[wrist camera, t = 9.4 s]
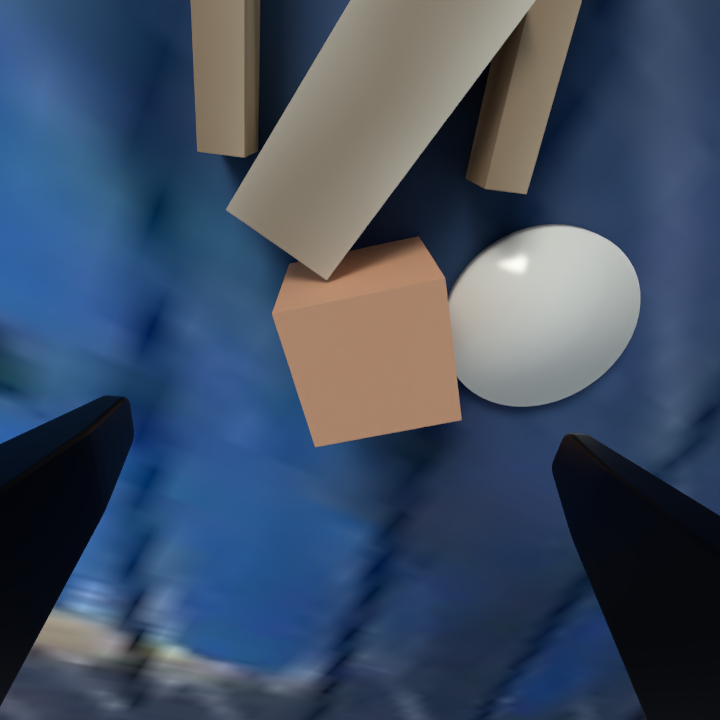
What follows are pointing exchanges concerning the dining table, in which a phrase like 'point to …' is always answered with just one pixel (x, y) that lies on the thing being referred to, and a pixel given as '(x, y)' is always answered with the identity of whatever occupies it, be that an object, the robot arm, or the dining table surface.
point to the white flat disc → (542, 314)
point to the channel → (497, 115)
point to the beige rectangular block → (366, 119)
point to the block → (370, 343)
